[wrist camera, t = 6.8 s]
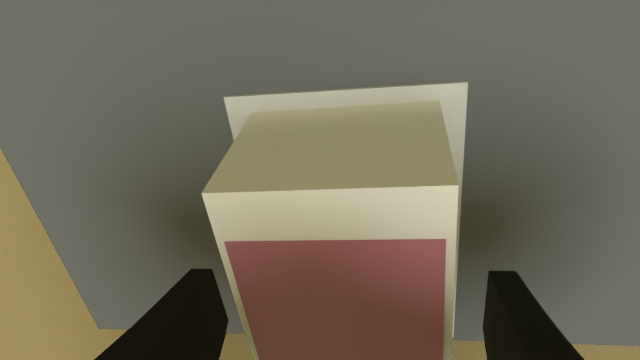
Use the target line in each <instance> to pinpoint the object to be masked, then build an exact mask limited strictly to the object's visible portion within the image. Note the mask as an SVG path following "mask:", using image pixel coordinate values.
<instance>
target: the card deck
mask: <svg viewBox="0 0 640 360" xmlns="http://www.w3.org/2000/svg"><path fill="white" fill-rule="evenodd" d="M458 188H459V185H458V180H457V176H456V172H455V167H454V163H453V158H452V154H451V150H450V145H449V141H448V136H447V132H446V128H445V123H444V119H443V114H442V110H441V106H440V101H424V102H408V103H393V104H377V105H361V106H345V107H329V108H314V109H298V110H282V111H266V112H252V113H251V115H250V117H249V118H248V120H247V121H246V123H245V124H244V126H243V128H242V129H241V131H240V132H239V134H238V136H237V137H236V139H235V140H234V142H233V144H232V145H231V147H230V148H229V150H228V152H227V153H226V155H225V156H224V158H223V160H222V161H221V163H220V164H219V166H218V167H217V169H216V171H215V172H214V174H213V175H212V177H211V179H210V180H209V182H208V183H207V185H206V187H205V188H204V190H203V191H202V193H201V194H202V197H203V200H204V204H205V207H206V210H207V213H208V217H209V220H210V223H211V226H212V229H213V233H214V236H215V239H216V242H217V246H218V249H219V252H220V255H221V258H222V262H223V265H224V268H225V271H226V275H227V278H228V281H229V284H230V287H231V291H232V294H233V297H234V300H235V304H236V307H237V310H238V313H239V316H240V320H241V323H242V326H243V329H244V333H245V336H246V339H247V342H248V345H249V349H250V352H251V355H252V358H253V360H451V355H452V331H453V307H454V283H455V259H456V236H457V212H458Z"/></svg>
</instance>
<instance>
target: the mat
mask: <svg viewBox="0 0 640 360" xmlns="http://www.w3.org/2000/svg"><path fill="white" fill-rule="evenodd" d="M424 101H440V106H441V110H442V114H443V119H444V123H445V128H446V132H447V136H448V141H449V145H450V150H451V154H452V158H453V163H454V167H455V172H456V176H457V180H458V185H459V188H458V212H457V236H456V259H455V283H454V307H453V331H452V340H470V341H484V334H483V319H484V309H485V300H486V290H487V281H488V272H489V271H516V272H517V273H518V274H519V275H520V277H521V278H522V280H523V281H524V283H525V284H526V286H527V287H528V289H529V290H530V291H531V293H532V294H533V296H534V297H535V298H536V300H537V301H538V303H539V304H540V305H541V307H542V308H543V309H544V311H545V312H546V313H547V315H548V316H549V317H550V319H551V320H552V321H553V322H554V324H555V325H556V326H557V327H558V329H559V330H560V331H561V332H562V334H563V335H564V336H565V337H566V338H567V340H568V341H569V342H570V343H571V344H594V345H625V346H640V0H0V148H1V150H2V151H3V153H4V155H5V157H6V159H7V161H8V162H9V164H10V166H11V168H12V170H13V172H14V173H15V175H16V177H17V179H18V181H19V183H20V185H21V186H22V188H23V190H24V192H25V194H26V196H27V197H28V199H29V201H30V203H31V205H32V207H33V209H34V210H35V212H36V214H37V216H38V218H39V220H40V221H41V223H42V225H43V227H44V229H45V231H46V233H47V234H48V236H49V238H50V240H51V242H52V244H53V245H54V247H55V249H56V251H57V253H58V255H59V256H60V258H61V260H62V262H63V264H64V266H65V268H66V269H67V271H68V273H69V275H70V277H71V279H72V280H73V282H74V284H75V286H76V288H77V290H78V292H79V293H80V295H81V297H82V299H83V301H84V303H85V304H86V306H87V308H88V310H89V312H90V314H91V316H92V317H93V319H94V321H95V323H96V325H97V327H98V328H99V329H130V328H131V327H132V326H133V325H134V324H135V323H136V322H137V321H138V320H139V319H140V318H141V317H142V316H143V315H144V314H145V313H146V312H147V311H148V310H150V309H151V308H152V307H153V306H154V305H155V304H156V303H157V302H158V301H159V300H160V299H161V298H162V297H163V296H164V295H165V294H166V293H167V292H168V291H169V290H170V289H171V288H172V287H173V286H174V285H175V284H176V283H177V282H178V281H179V280H180V279H181V278H182V277H183V276H184V275H185V274H186V273H187V272H188V271H189V270H191V269H212V270H213V273H214V276H215V279H216V282H217V285H218V288H219V292H220V295H221V298H222V301H223V304H224V307H225V310H226V314H227V317H228V320H229V321H228V326H227V330H226V333H244V329H243V326H242V323H241V320H240V316H239V313H238V310H237V307H236V304H235V300H234V297H233V294H232V291H231V287H230V284H229V281H228V278H227V275H226V271H225V268H224V265H223V262H222V258H221V255H220V252H219V249H218V246H217V242H216V239H215V236H214V233H213V229H212V226H211V223H210V220H209V217H208V213H207V210H206V207H205V204H204V200H203V197H202V194H201V193H202V191H203V190H204V188H205V187H206V185H207V183H208V182H209V180H210V179H211V177H212V175H213V174H214V172H215V171H216V169H217V167H218V166H219V164H220V163H221V161H222V160H223V158H224V156H225V155H226V153H227V152H228V150H229V148H230V147H231V145H232V144H233V142H234V140H235V139H236V137H237V136H238V134H239V132H240V131H241V129H242V128H243V126H244V124H245V123H246V121H247V120H248V118H249V117H250V115H251V113H252V112H266V111H282V110H298V109H314V108H329V107H345V106H361V105H377V104H393V103H408V102H424Z"/></svg>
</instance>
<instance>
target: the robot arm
mask: <svg viewBox="0 0 640 360" xmlns="http://www.w3.org/2000/svg"><path fill="white" fill-rule="evenodd" d="M228 321H229V320H228V317H227V314H226V310H225V307H224V304H223V301H222V298H221V295H220V292H219V288H218V285H217V282H216V279H215V276H214V273H213V270H212V269H191V270H189V271H188V272H187V273H186V274H185V275H184V276H183V277H182V278H181V279H180V280H179V281H178V282H177V283H176V284H175V285H174V286H173V287H172V288H171V289H170V290H169V291H168V292H167V293H166V294H165V295H164V296H163V297H162V298H161V299H160V300H159V301H158V302H157V303H156V304H155V305H154V306H153V307H152V308H151V309H150V310H148V311H147V312H146V313H145V314H144V315H143V316H142V317H141V318H140V319H139V320H138V321H137V322H136V323H135V324H134V325H133V326H132V327H131V328H130V329H128V330H127V331H126V332H125V333H124V334H123V335H122V336H121V337H119V338H118V339H117V340H116V341H115V342H114V343H113V344H112V345H110V346H109V347H108V348H107V349H106V350H105V351H104V352H103V353H101V354H100V355H99V356H98V357H97V358H96V359H94V360H219V357H220V354H221V350H222V346H223V342H224V338H225V334H226V330H227V326H228ZM483 334H484V341H485V348H486V354H487V360H584V359H583V358H582V356H581V355H580V354H579V353H578V352H577V351H576V349H575V348H574V347H573V346H572V345H571V343H570V342H569V341H568V340H567V338H566V337H565V336H564V335H563V334H562V332H561V331H560V330H559V329H558V327H557V326H556V325H555V324H554V322H553V321H552V320H551V319H550V317H549V316H548V315H547V313H546V312H545V311H544V309H543V308H542V307H541V305H540V304H539V303H538V301H537V300H536V298H535V297H534V296H533V294H532V293H531V291H530V290H529V289H528V287H527V286H526V284H525V283H524V281H523V280H522V278H521V277H520V275H519V274H518V273H517V272H516V271H489V272H488V281H487V290H486V300H485V309H484V319H483Z"/></svg>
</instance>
